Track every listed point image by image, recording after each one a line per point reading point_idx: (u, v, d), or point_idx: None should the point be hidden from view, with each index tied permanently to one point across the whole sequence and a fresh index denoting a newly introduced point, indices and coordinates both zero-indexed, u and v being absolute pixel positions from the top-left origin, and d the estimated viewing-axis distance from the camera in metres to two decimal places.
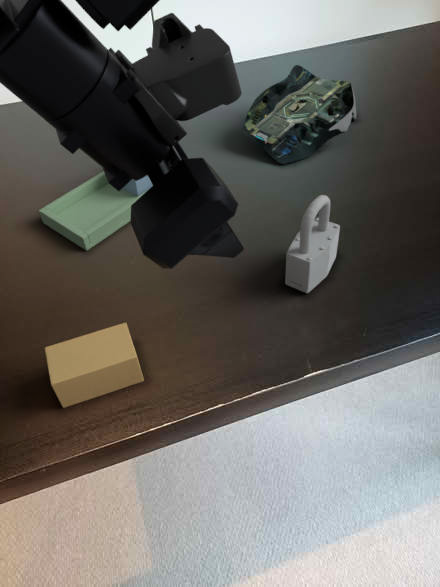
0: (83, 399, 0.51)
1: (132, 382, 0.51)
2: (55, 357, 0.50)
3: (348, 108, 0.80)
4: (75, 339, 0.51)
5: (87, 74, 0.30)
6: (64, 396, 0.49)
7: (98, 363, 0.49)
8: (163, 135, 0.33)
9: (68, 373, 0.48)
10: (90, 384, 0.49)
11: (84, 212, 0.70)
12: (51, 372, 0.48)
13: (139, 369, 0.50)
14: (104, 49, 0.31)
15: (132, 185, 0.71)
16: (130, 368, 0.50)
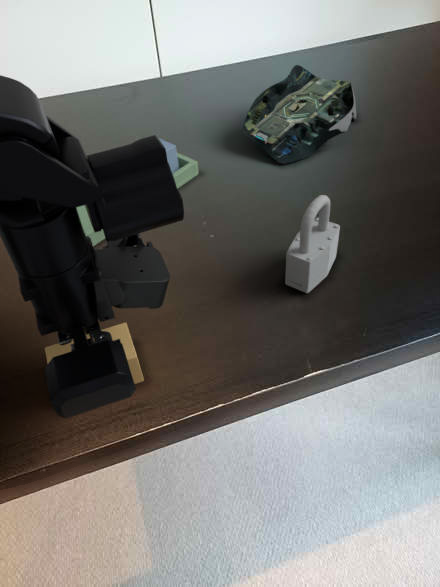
0: None
1: None
2: None
3: (348, 108, 0.80)
4: None
5: (71, 259, 0.39)
6: None
7: None
8: (98, 313, 0.43)
9: None
10: None
11: (84, 212, 0.70)
12: None
13: (139, 369, 0.50)
14: (86, 242, 0.41)
15: None
16: (130, 367, 0.50)
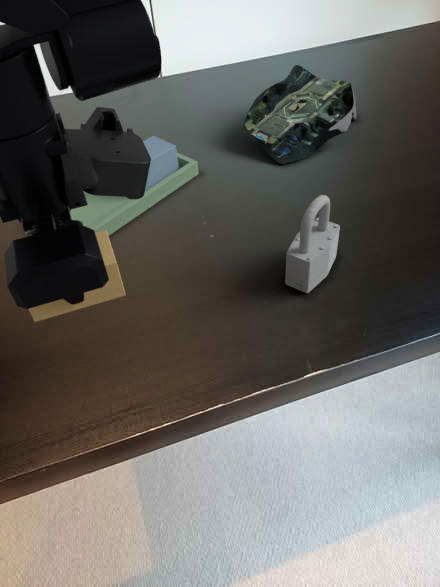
0: (57, 312, 0.45)
1: (112, 296, 0.46)
2: None
3: (348, 108, 0.80)
4: None
5: (37, 117, 0.34)
6: (35, 307, 0.44)
7: None
8: (67, 197, 0.37)
9: None
10: None
11: (84, 212, 0.70)
12: None
13: (119, 279, 0.45)
14: (52, 105, 0.35)
15: None
16: (109, 276, 0.44)
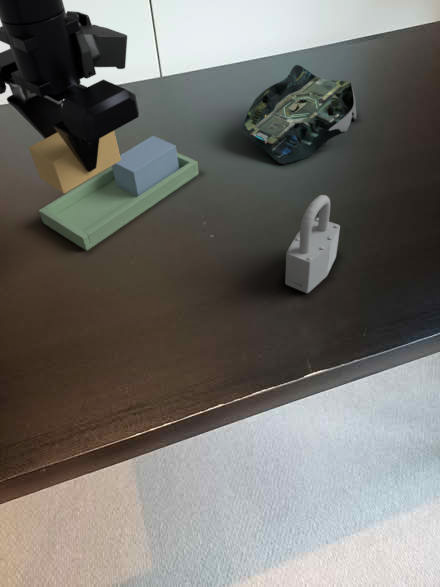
0: (78, 182, 0.57)
1: (113, 161, 0.59)
2: (43, 149, 0.56)
3: (348, 108, 0.80)
4: (52, 135, 0.57)
5: (61, 0, 0.47)
6: (64, 178, 0.56)
7: None
8: (84, 67, 0.51)
9: (62, 152, 0.55)
10: None
11: (84, 212, 0.70)
12: (47, 156, 0.54)
13: (116, 144, 0.59)
14: None
15: (132, 185, 0.71)
16: (110, 142, 0.58)
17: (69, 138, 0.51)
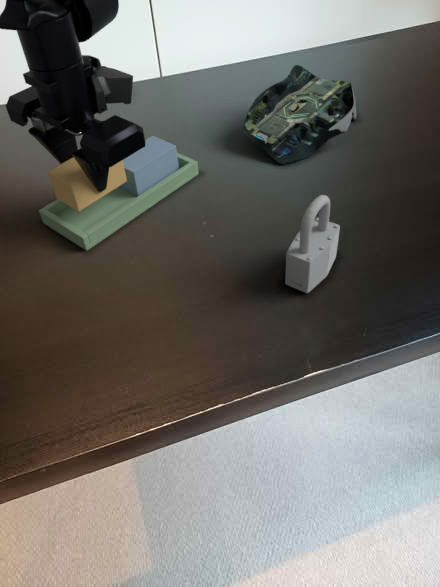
0: (91, 201, 0.66)
1: (120, 182, 0.68)
2: (60, 173, 0.64)
3: (348, 108, 0.80)
4: (67, 161, 0.66)
5: None
6: (79, 198, 0.64)
7: None
8: (97, 104, 0.59)
9: (78, 176, 0.63)
10: None
11: (84, 212, 0.70)
12: (64, 179, 0.63)
13: (123, 168, 0.67)
14: None
15: (132, 185, 0.71)
16: (118, 166, 0.67)
17: (86, 164, 0.60)
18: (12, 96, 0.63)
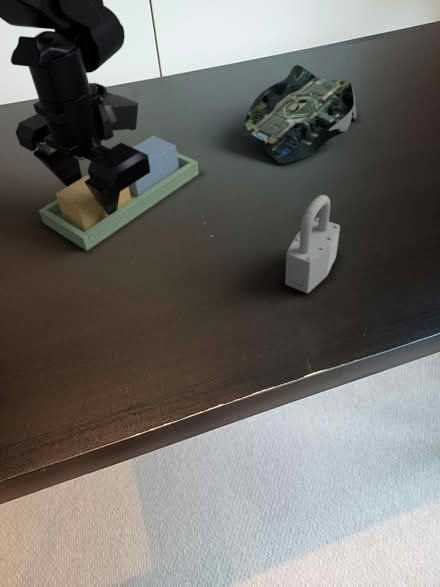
0: (97, 222, 0.68)
1: (125, 203, 0.71)
2: (68, 195, 0.66)
3: (348, 108, 0.80)
4: (74, 183, 0.68)
5: (87, 81, 0.58)
6: (86, 219, 0.67)
7: None
8: (104, 132, 0.62)
9: (85, 198, 0.66)
10: (100, 205, 0.67)
11: None
12: (72, 202, 0.65)
13: (128, 189, 0.70)
14: None
15: (132, 185, 0.71)
16: None
17: (98, 192, 0.62)
18: (22, 122, 0.66)
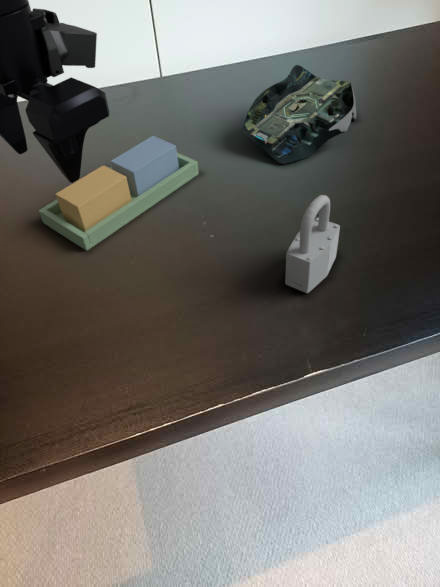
0: (97, 222, 0.68)
1: (125, 203, 0.71)
2: (68, 195, 0.66)
3: (348, 108, 0.80)
4: (74, 183, 0.68)
5: None
6: (86, 219, 0.67)
7: (102, 187, 0.67)
8: (50, 65, 0.48)
9: (85, 198, 0.66)
10: (100, 205, 0.67)
11: None
12: (72, 202, 0.65)
13: (128, 189, 0.70)
14: None
15: (132, 185, 0.71)
16: (123, 188, 0.69)
17: (50, 146, 0.47)
18: None
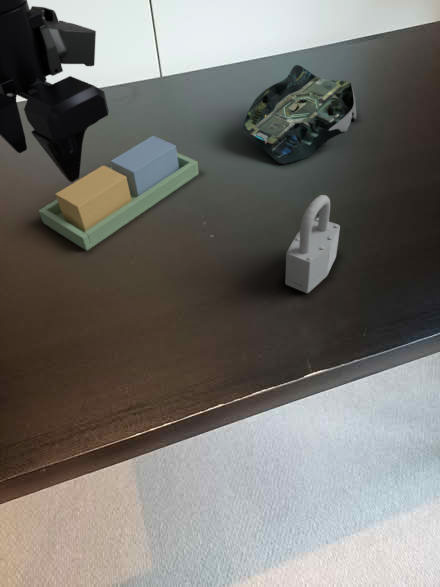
0: (97, 222, 0.68)
1: (125, 203, 0.71)
2: (68, 195, 0.66)
3: (348, 108, 0.80)
4: (74, 183, 0.68)
5: None
6: (86, 219, 0.67)
7: (102, 187, 0.67)
8: (49, 64, 0.48)
9: (85, 198, 0.66)
10: (100, 205, 0.67)
11: None
12: (72, 202, 0.65)
13: (128, 189, 0.70)
14: None
15: (132, 185, 0.71)
16: (123, 188, 0.69)
17: (49, 146, 0.47)
18: None
